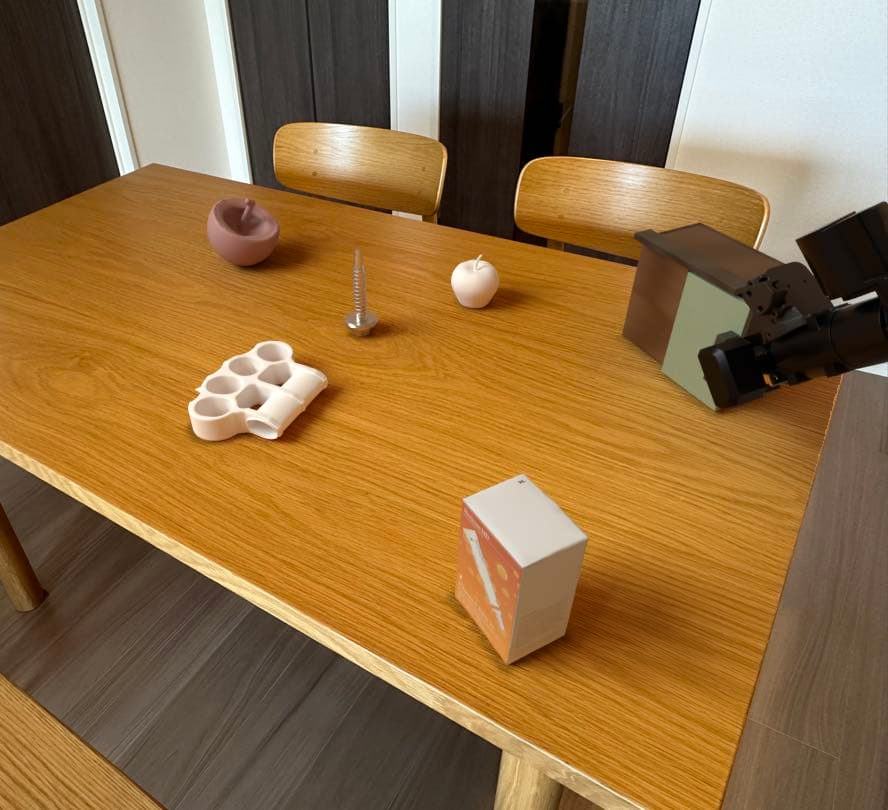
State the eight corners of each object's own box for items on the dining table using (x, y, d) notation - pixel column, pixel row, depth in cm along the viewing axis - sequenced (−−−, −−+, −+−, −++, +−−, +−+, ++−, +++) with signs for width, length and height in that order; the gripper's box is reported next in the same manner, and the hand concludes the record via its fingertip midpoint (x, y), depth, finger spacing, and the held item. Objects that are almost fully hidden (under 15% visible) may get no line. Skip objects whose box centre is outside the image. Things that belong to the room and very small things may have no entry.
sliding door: (719, 409, 82) (756, 305, 73) (700, 416, 81) (735, 311, 72) (665, 369, 88) (693, 270, 80) (647, 375, 87) (673, 275, 79)
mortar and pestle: (266, 281, 114) (257, 215, 107) (201, 274, 117) (188, 209, 110) (293, 249, 123) (286, 186, 116) (232, 244, 126) (221, 182, 119)
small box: (453, 597, 64) (459, 497, 55) (509, 570, 66) (524, 470, 57) (506, 668, 58) (522, 568, 50) (567, 636, 60) (592, 535, 52)
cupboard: (765, 383, 86) (810, 267, 76) (697, 406, 83) (736, 289, 73) (672, 323, 98) (701, 216, 88) (611, 340, 95) (634, 232, 85)
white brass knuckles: (264, 462, 79) (166, 426, 85) (341, 378, 91) (251, 352, 97) (260, 439, 77) (160, 405, 83) (340, 357, 89) (247, 332, 95)
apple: (479, 319, 101) (483, 269, 96) (440, 304, 105) (442, 255, 100) (506, 300, 105) (511, 252, 100) (468, 286, 109) (471, 239, 104)
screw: (359, 319, 103) (385, 329, 100) (338, 334, 100) (364, 344, 97) (354, 238, 95) (383, 246, 92) (332, 251, 92) (360, 260, 89)
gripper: (898, 231, 65) (765, 285, 80) (743, 274, 60) (632, 323, 75) (942, 343, 64) (798, 376, 79) (788, 396, 59) (666, 421, 74)
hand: (725, 371), depth 77 cm, fingers closed
